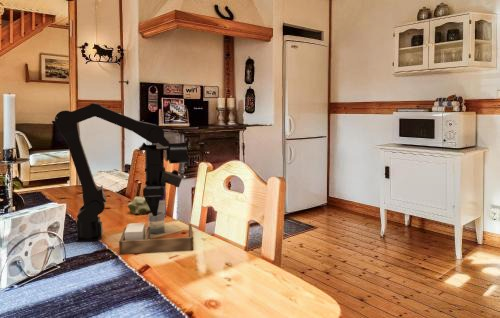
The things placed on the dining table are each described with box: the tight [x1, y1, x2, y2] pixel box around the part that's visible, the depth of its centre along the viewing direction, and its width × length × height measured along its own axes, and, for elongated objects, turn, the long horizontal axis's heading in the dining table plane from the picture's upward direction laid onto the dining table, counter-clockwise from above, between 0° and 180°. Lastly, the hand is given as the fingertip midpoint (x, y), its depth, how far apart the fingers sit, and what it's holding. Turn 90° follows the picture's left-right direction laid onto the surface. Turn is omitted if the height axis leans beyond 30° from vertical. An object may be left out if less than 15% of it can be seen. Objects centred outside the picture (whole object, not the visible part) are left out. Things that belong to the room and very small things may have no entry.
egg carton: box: [125, 222, 146, 241], centre depth 118 cm, size 5×9×6 cm, turn 10°
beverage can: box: [158, 185, 167, 218], centre depth 149 cm, size 5×5×15 cm
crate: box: [118, 223, 194, 255], centre depth 119 cm, size 20×14×4 cm
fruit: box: [126, 196, 151, 215], centre depth 156 cm, size 9×9×8 cm
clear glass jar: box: [147, 212, 166, 236], centre depth 131 cm, size 5×5×6 cm
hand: (155, 212), depth 130 cm, fingers open, 9 cm apart
